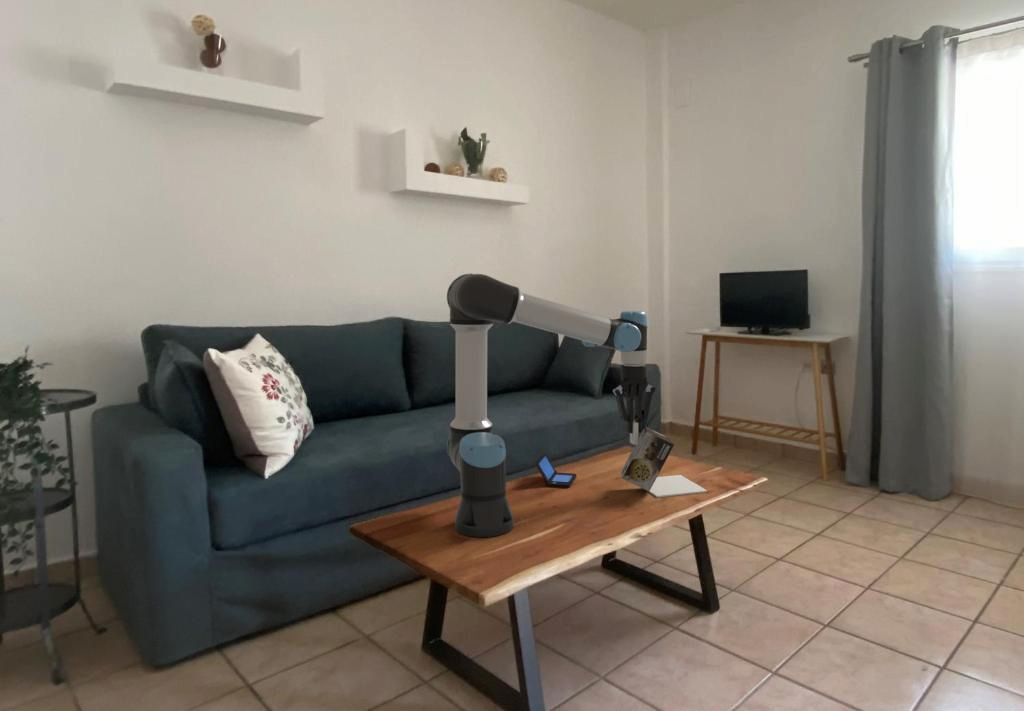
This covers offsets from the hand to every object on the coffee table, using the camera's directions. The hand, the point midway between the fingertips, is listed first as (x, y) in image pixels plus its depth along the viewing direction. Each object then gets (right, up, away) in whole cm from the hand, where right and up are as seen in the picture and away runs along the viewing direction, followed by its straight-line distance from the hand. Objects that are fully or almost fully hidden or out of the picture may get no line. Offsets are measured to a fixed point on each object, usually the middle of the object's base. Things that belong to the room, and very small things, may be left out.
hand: (634, 443), depth 197 cm
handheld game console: (-22, -14, +12) cm, 29 cm away
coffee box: (0, -12, +1) cm, 12 cm away
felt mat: (+11, -14, +4) cm, 18 cm away
